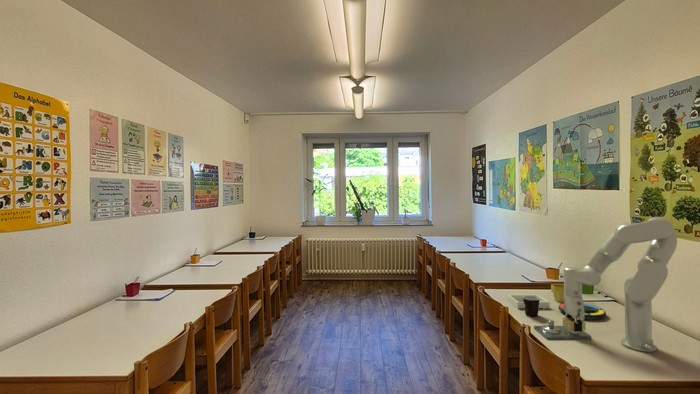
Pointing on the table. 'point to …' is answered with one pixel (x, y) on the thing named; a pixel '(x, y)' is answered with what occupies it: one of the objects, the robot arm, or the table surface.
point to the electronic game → (589, 311)
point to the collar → (572, 323)
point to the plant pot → (558, 292)
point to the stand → (573, 332)
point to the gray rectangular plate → (562, 334)
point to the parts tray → (515, 298)
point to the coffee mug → (531, 305)
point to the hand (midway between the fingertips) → (573, 328)
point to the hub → (551, 327)
